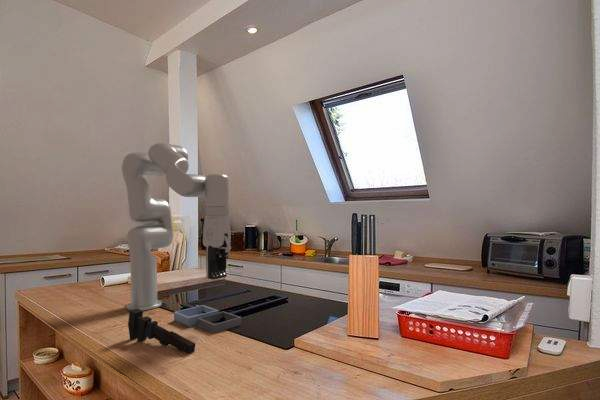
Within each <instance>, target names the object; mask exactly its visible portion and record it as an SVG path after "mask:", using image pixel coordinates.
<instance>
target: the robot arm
mask: <svg viewBox="0 0 600 400" xmlns="http://www.w3.org/2000/svg"><path fill="white" fill-rule="evenodd" d="M188 160H189V154H188V151H187V149H186V148H184V147H183V146H181V145H176V144H170V143H163V142H161V143H160V142H159V143H154V144H153V145H151V146H150V147H149V149H148V151H147V153H146V152H131V153H128V154H127V155H125V156H124V158H123V160H122V164H121V165H122V166H121V173H122V177H123V181H124V184H125V186H126V193H127V204H128V214H129V219H130V220H131V221H132V222H134V223H153V222H154V224H148V225H147V224H145V225H137V226H135V227H132V228H131V229H129V230H128V232H127V235H126V242H127V246H128V252H129V260H130V261H129V262H130V264H129V266H130V267H129V268H130V300H131V301H130V302H129V303H127V305H126V310H128V311H130V310H133V309H137V308H138V309H140V310H142V311H148V310H152V309H156V308H159V307H161V306H162V304H163V303H162V301H161V300H160V299H158V262H157V257H156V256H155V254H154V253H153V251H152V250H155V249H163V248H167V247H169V246H171V245H172V243H173V240H174V239H173V238H174V229H173V228H174V227H173V220H172V209H171V205H169V202H168V201H167V200H166V199H164V198H158V197H157V198H155V197H153V198H152V193H151V186H150V183H148V181H147V179H146V178H145V177H144V176H143V175H145V176H159V177H162V176H163V177H164V176H165V179H166V182H167V185H168V187H170V189H171V190H173V191H174V192H175V194H177V195H179V196H181V197H185V198H204V206H205V207H204V210H205V211H204V212H205V213H204V215H205V216H204V219H203V226H202V227H203V228H202V244H203V246H204V247H205V248H206V247H207V245H210V246H212V247H214V248H217V250H218V257H217V270H223V269H226V270H227V259H226V257H227V254H228V255H229V252H230V251H231V250H232V246H231V241H232V240H231V239H232V237H231V236H232V234H231V233H232V232H231V224H230V223H231V222H230V217H229V216H230V201H229V200H230V197H229V196H230V193H229V192H230V191H229V190H230V189H229V185H230V184H229V177H228V176H227V175H226V174H224V173H223V174H221V173H220V174H219V173H216V174H215V173H211V174H196V173H194V174H191V173H188V170H189V166H190V165H189V161H188ZM222 245H223V247H220V246H222ZM221 249H223V250H222V251H221Z"/></svg>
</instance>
